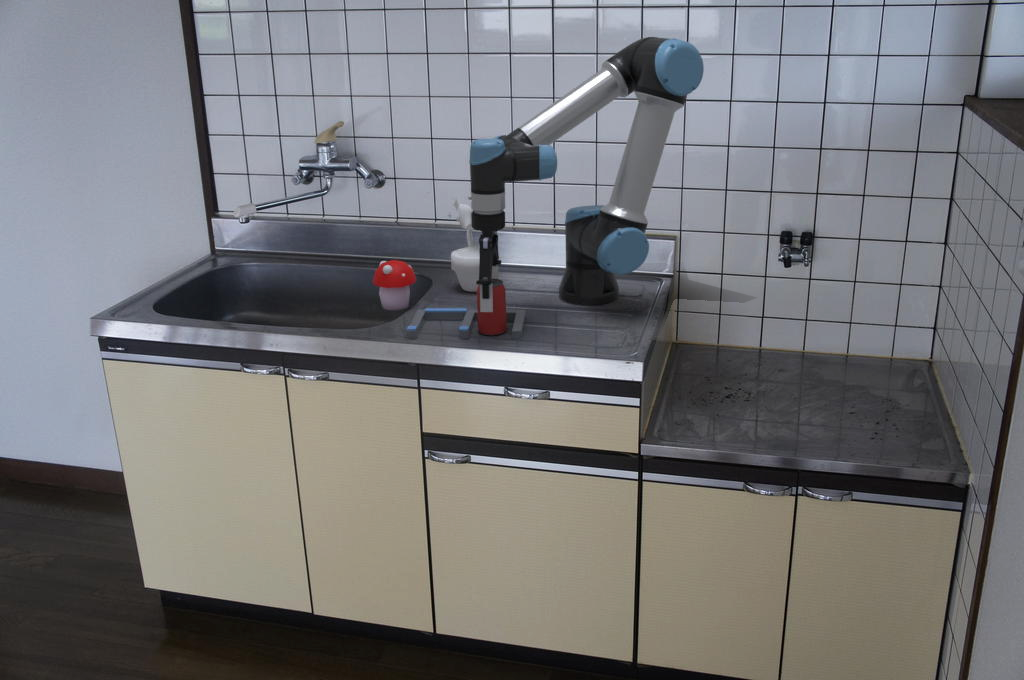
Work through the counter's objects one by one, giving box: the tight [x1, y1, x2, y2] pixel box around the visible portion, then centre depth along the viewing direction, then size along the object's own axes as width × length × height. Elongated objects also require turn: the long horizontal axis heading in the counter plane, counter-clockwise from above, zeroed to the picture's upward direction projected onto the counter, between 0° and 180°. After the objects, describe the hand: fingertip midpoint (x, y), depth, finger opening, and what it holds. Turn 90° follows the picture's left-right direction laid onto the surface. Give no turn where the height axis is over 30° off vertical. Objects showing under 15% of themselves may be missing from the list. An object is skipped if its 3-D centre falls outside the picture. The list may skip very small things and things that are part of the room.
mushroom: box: [372, 259, 417, 311], centre depth 241 cm, size 11×11×12 cm
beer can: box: [476, 278, 508, 337], centre depth 222 cm, size 7×7×12 cm
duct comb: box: [406, 307, 526, 340], centre depth 226 cm, size 26×14×2 cm, turn 85°
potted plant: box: [447, 199, 487, 293], centre depth 250 cm, size 13×12×25 cm
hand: (489, 302), depth 221 cm, fingers open, 13 cm apart
